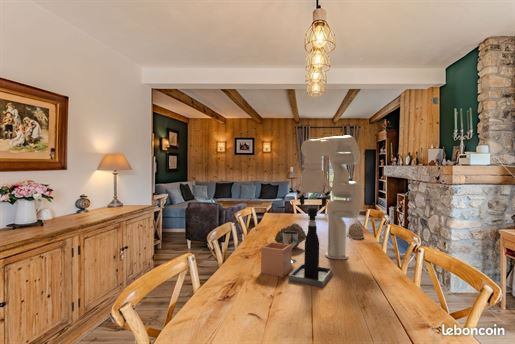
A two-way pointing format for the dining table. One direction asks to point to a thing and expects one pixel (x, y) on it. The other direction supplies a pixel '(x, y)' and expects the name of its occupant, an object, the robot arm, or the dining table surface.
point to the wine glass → (290, 239)
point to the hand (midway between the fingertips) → (312, 205)
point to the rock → (291, 228)
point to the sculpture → (355, 231)
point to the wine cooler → (276, 258)
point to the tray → (316, 281)
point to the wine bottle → (311, 247)
